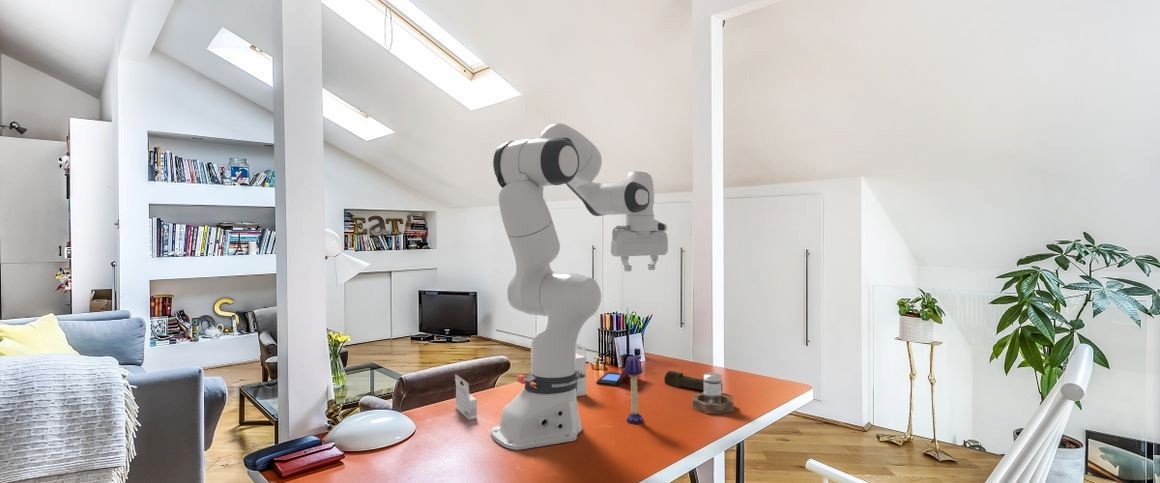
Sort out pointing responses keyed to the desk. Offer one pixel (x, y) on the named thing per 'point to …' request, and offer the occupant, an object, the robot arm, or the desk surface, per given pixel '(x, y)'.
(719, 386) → the cylinder
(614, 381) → the handheld game console
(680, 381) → the hand tool
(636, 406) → the toy lamp
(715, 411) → the walnut ring
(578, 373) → the ink box
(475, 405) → the ink cartridge box
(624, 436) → the desk surface
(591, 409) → the desk surface
